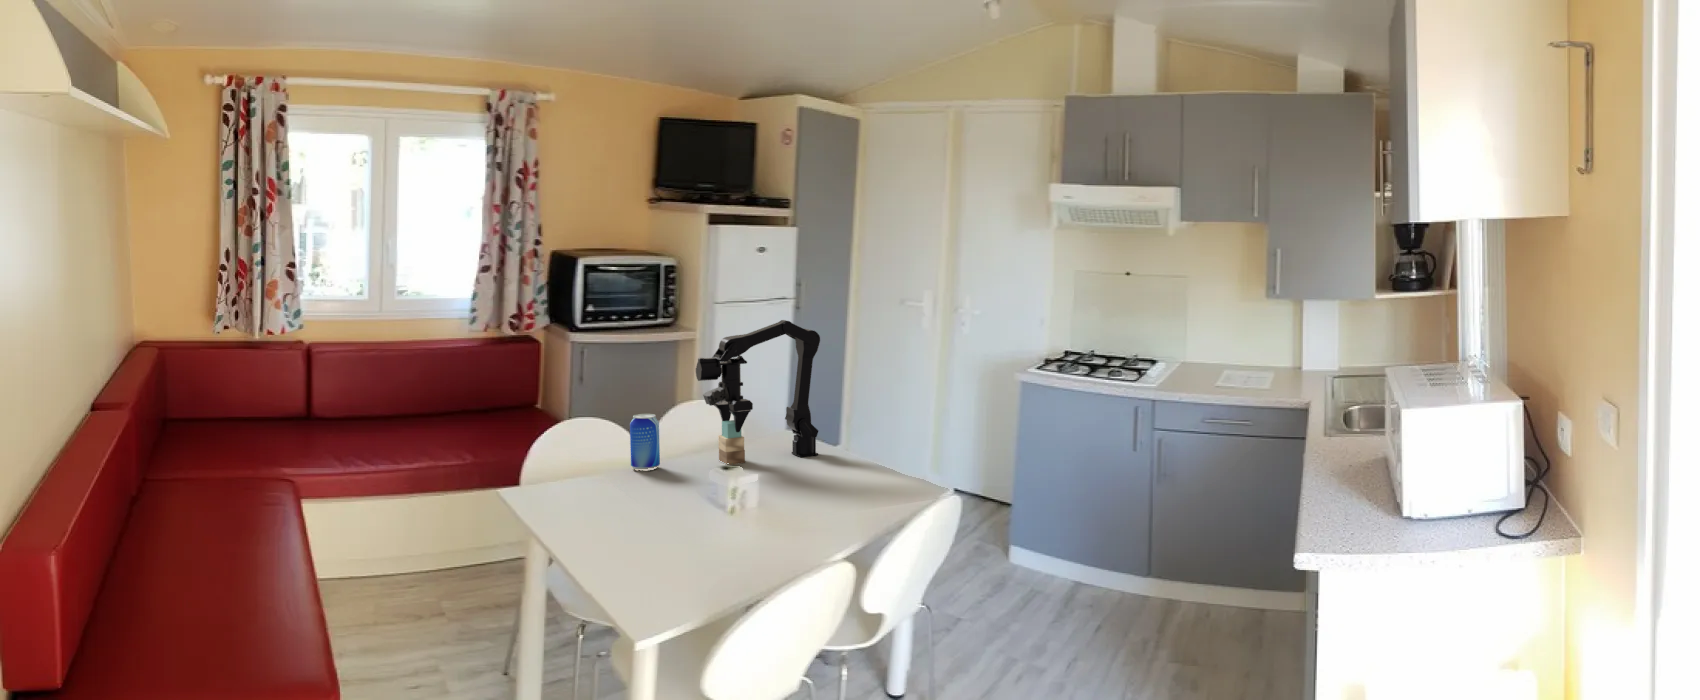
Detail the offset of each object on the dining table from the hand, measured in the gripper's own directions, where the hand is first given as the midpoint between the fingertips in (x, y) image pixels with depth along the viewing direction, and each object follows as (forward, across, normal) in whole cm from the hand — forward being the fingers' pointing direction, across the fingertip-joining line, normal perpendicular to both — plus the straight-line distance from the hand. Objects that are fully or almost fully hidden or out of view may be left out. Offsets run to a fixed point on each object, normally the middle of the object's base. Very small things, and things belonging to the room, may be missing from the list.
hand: (731, 429), depth 312 cm
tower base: (+10, 0, 0) cm, 10 cm away
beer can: (+10, -4, -26) cm, 28 cm away
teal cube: (+2, 0, 0) cm, 2 cm away
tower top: (+6, 0, 0) cm, 6 cm away
